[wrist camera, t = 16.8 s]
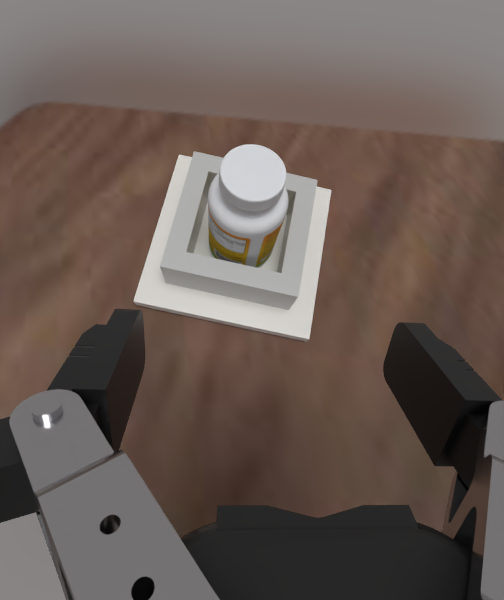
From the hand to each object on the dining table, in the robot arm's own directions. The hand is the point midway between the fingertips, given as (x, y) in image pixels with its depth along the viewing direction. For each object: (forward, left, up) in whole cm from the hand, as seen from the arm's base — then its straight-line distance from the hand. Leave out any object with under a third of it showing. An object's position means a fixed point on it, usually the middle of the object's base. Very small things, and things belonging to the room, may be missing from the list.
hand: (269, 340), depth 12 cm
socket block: (+2, -11, -18) cm, 21 cm away
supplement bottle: (+2, -11, -17) cm, 20 cm away
